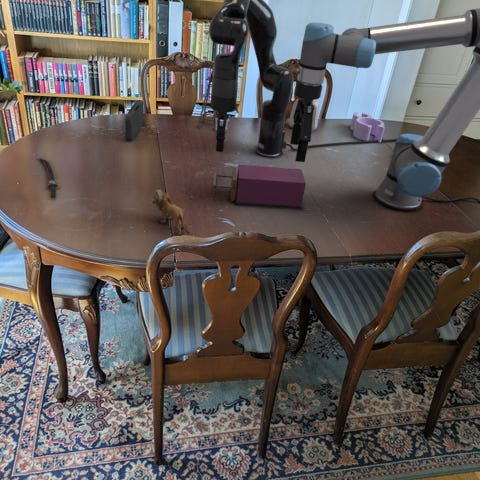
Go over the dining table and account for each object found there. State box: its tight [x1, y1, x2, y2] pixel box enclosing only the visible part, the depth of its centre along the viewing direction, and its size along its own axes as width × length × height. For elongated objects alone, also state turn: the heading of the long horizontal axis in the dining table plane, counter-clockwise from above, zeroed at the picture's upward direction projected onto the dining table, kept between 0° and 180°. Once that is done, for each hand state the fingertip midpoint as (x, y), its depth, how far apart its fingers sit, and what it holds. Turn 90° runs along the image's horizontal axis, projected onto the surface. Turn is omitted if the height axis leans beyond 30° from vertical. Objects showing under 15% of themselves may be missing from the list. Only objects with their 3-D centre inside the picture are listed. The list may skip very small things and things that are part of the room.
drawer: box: [212, 167, 237, 202], centre depth 150 cm, size 26×9×7 cm, turn 91°
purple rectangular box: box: [235, 164, 307, 210], centre depth 150 cm, size 21×10×9 cm, turn 91°
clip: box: [349, 112, 386, 143], centre depth 214 cm, size 20×12×7 cm, turn 11°
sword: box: [40, 158, 59, 198], centre depth 151 cm, size 31×3×1 cm, turn 26°
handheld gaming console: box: [124, 99, 145, 141], centre depth 189 cm, size 23×3×10 cm, turn 178°
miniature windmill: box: [197, 60, 219, 130], centre depth 198 cm, size 9×8×30 cm
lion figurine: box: [149, 189, 191, 236], centre depth 131 cm, size 15×5×9 cm, turn 50°
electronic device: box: [287, 98, 320, 133], centre depth 207 cm, size 12×8×30 cm, turn 71°
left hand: (220, 145), depth 143 cm, fingers open, 8 cm apart
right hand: (297, 152), depth 144 cm, fingers open, 13 cm apart
